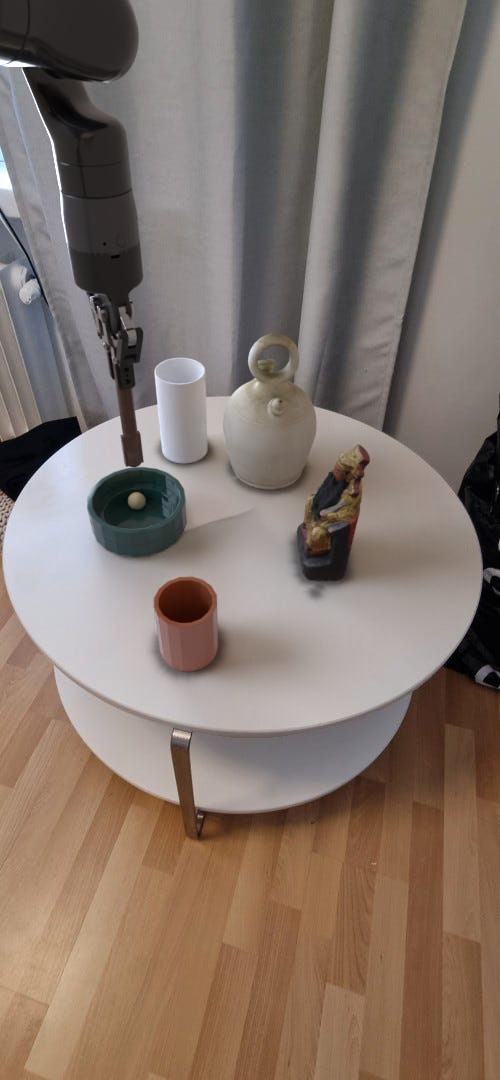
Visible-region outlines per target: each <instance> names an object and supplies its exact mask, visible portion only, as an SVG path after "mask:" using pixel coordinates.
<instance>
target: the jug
mask: <svg viewBox="0 0 500 1080" xmlns="http://www.w3.org/2000/svg"><path fill="white" fill-rule="evenodd" d="M273 346H279V347H281V348H284V349H285V350H286V351H287V352H288V354H289V357H288V358H289V359H288V362H287V364H286V366H285V367H283V368H282V369H280V370H278V371H274V369H275V368H274V366H275V363H276V360H275V359H274V358H272V359H271V358H268V359H260V356H261V355H262V353H263V352H264V351H265V350H266V349H267V350H268V348H270V347H273ZM247 363H248V368H249V371H250V373H251V374H252V376H253V379H251V380H250V381H247V382H245V383H244V384H242V385H240V386H239V387H238V388H237V389H236V390H235V391H234V392H233V393H232V395H231V396H230V398H229V399H228V401H227V403H226V405H225V409H224V411H223V416H222V430H223V436H224V441H225V445H226V450H227V454H228V459H229V462H230V464H231V465H230V466H231V467H232V470H233V472H234V474H235V476H236V477H237V478H238V479H239V480H240V481H241V482H242V483H243V484H246V485H248V486H249V487H252V488H255V489H259V490H262V491H275V490H282V489H285V488H287V487H290V486H292V485H293V484H295V483H296V482H297V481H298V480H299V478H300V477H301V475H302V473H303V471H304V468H305V466H306V464H307V461H308V458H309V456H310V453H311V451H312V447H313V444H314V441H315V438H316V434H317V415H316V409H315V406H314V404H313V402H312V400H311V398H310V396H309V394H307V392H306V391H305V390H304V389H302V387H300V386H299V385H297V384H295V383H294V382H292V381H290V379H291V378H293V377H294V375H295V374H296V372H297V371H298V368H299V365H300V353H299V349H298V347H297V345H296V343H295V342H294V341H293V340H292V339H291V338H289V337H288V336H287V335H285V334H283V333H282V334H281V333H278V332H273V333H267V334H265V335H263V336H261V337H260V338H259V339H257V341H255V342H254V343H253V345H252V346H251V348H250V350H249V353H248V358H247Z"/></svg>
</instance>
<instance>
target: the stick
mask: <svg viewBox="0 0 500 1080" xmlns="http://www.w3.org/2000/svg"><path fill="white" fill-rule="evenodd" d="M110 349H111V347H110ZM111 356H112V353H111ZM112 363H113V361H112ZM113 370H114V363H113ZM114 377H115V370H114ZM114 383H115V389H116V397H117V404H118V410H119V417H120V418H119V419H120V426H121V433H122V434H120V435H119V436H120V441H121V449H122V454H123V456H122V457H123V462H124V465H125V467H126V468H134V467H141V465H142V464H143V463H144V462H145V461H144V453H143V445H142V436H141V432H140V430H138V423H137V415H136V408H135V400H134V391H133V388H130V389H126V390H120V389H119V388H118V387H117V384H116V377H115V380H114Z"/></svg>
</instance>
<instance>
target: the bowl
mask: <svg viewBox="0 0 500 1080" xmlns="http://www.w3.org/2000/svg"><path fill="white" fill-rule="evenodd" d="M135 492H138V493H141V494H143V495H144V497H145V500H146V503H145V505H144V507H143V508H142V509H139V510H134V509H132V508H131V507H130V506H129V504H128V498H129V496H130V495H131V494H132V493H135ZM186 501H187V500H186V493H185V488H184V487H183V485H182V484H181V482H180V481H179V480H178V478H176V477H175V476H173V475H172V474H171V473H170V472H167V471H165V470H161V469H158V468H155V467H146V466H138V467H126V468H122V469H120V470H115V471H113V472H111V473H108V475H105V476H104V477H101V479H99V480H98V481H97V482H96V483H95V484H94V485H93V486H92V487H91V489H90V491H89V493H88V496H87V499H86V510H87V514H88V518H89V522H90V526H91V530H92V534H93V536H94V538H95V540H96V542H97V543H98V544H99V545H100V546H102V548H103V549H105V550H106V551H108V552H110V553H113V554H115V555H116V556H121V557H128V558H140V557H149V556H153V555H155V554H158V553H162V552H164V551H166V550H168V549H169V548H171V547H172V546H174V545H175V544H176V543H177V542H178V541H179V540H180V539H181V538H182V536H183V535H184V533H185V530H186V527H187V525H188V518H187V515H188V514H187V503H186Z"/></svg>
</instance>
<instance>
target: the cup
mask: <svg viewBox="0 0 500 1080" xmlns="http://www.w3.org/2000/svg"><path fill="white" fill-rule="evenodd" d="M206 379H207V378H206V368H205V366H204V365H203V364H202V363H201V362H199V361H198V360H195V359H193V358H189V357H173V358H169V359H165V360H163V361H161V362H160V363H158V364H157V365H156V366H155V368H154V381H155V392H156V402H157V412H158V413H157V414H158V423H159V431H160V443H161V451H162V454H163V456H164V457H165V458H166V459H167V460H169V461H171V462H173V463H176V464H191V463H192V464H193V463H195V462H198V461H200V460H202V459H203V458H204V457H205V456H206V454H207V453H208V447H209V446H208V422H207V421H208V419H207V418H208V417H207V416H208V415H207V381H206Z"/></svg>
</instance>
